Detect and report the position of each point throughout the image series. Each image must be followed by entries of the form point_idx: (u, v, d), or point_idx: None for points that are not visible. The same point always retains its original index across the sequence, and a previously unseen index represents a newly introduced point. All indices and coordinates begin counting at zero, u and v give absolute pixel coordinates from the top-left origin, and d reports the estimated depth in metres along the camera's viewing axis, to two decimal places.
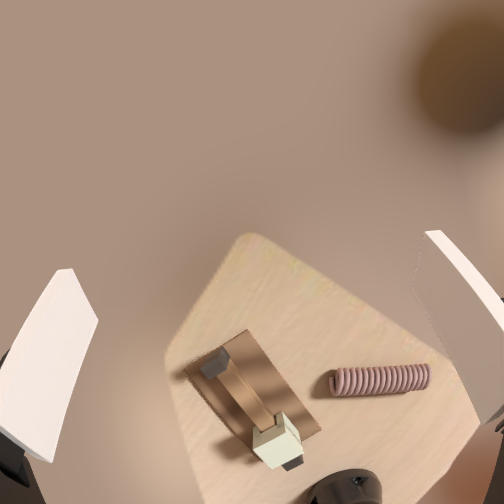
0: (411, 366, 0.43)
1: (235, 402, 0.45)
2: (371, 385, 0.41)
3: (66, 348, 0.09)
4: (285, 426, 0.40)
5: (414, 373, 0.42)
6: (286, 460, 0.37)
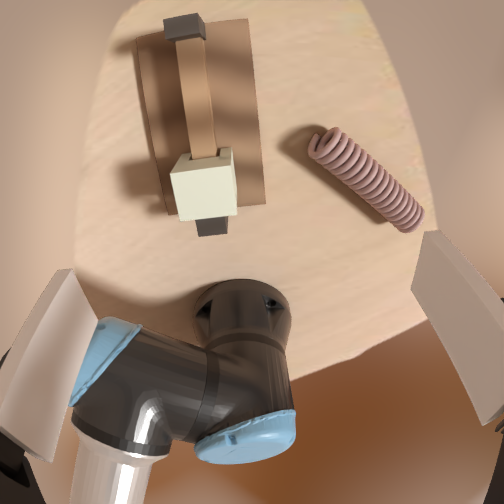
0: (407, 193, 0.35)
1: (177, 106, 0.30)
2: (363, 174, 0.31)
3: (66, 348, 0.09)
4: (231, 161, 0.29)
5: (409, 202, 0.34)
6: (207, 215, 0.29)
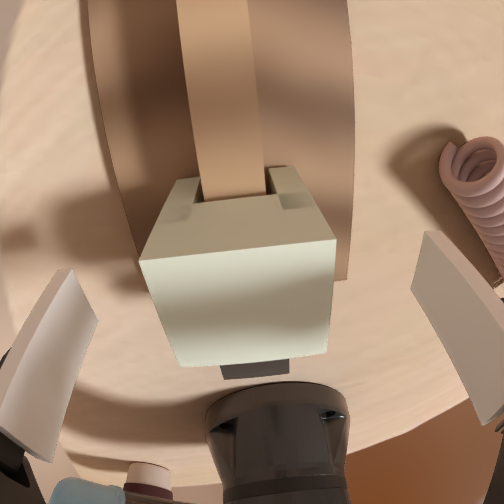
0: None
1: (166, 67, 0.12)
2: None
3: (66, 348, 0.09)
4: None
5: None
6: (252, 357, 0.11)
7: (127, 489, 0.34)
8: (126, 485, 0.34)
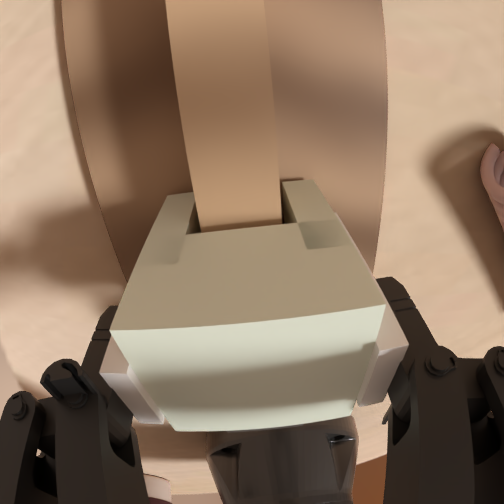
0: None
1: (152, 54, 0.09)
2: None
3: None
4: None
5: None
6: (262, 425, 0.08)
7: None
8: None
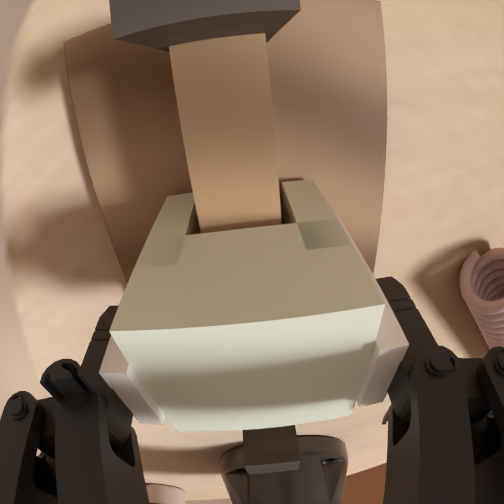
0: None
1: None
2: None
3: None
4: None
5: None
6: (262, 424, 0.08)
7: None
8: None
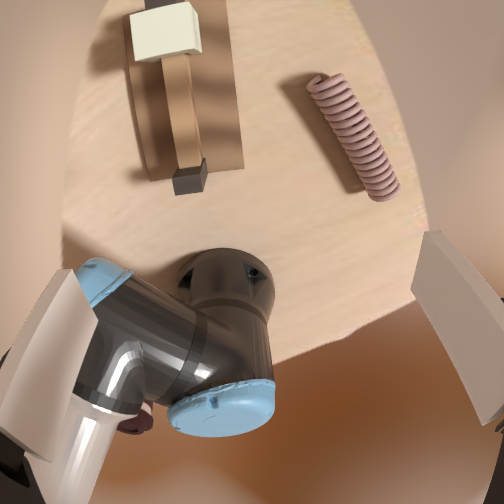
0: (388, 163, 0.35)
1: (158, 76, 0.30)
2: (354, 120, 0.30)
3: (66, 348, 0.09)
4: (191, 8, 0.22)
5: (389, 169, 0.34)
6: (163, 50, 0.22)
7: None
8: None
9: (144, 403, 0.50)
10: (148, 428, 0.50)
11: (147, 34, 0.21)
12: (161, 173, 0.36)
